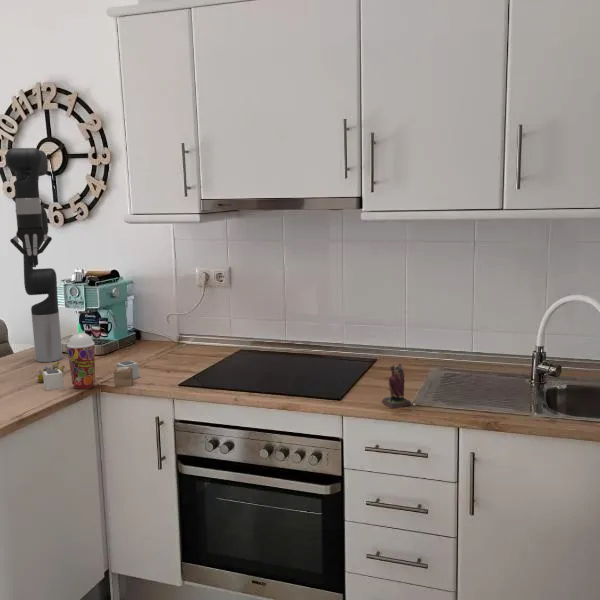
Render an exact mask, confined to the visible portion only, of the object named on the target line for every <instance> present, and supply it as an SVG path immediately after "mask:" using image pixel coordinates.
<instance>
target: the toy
mask: <svg viewBox="0 0 600 600" xmlns="http://www.w3.org/2000/svg"><path fill="white" fill-rule="evenodd" d="M60 364H61V362H60V361H57V363H54V364H51V365H49V367H48V366H44V367H42V368H41V369H39V371H38V373H40V374H39V375H37V381H36V382H39V383H40V384H41V383H42V382H44V381H43V372H44V371H49V370H56V369H59V370H60V371H61V372H62V373H63V371H64V369H65V367H66V366H65V364H63V365H62V366H61V367H59V365H60Z"/></svg>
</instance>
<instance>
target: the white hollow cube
mask: <svg viewBox="0 0 600 600" xmlns="http://www.w3.org/2000/svg"><path fill="white" fill-rule="evenodd" d="M55 369H56V370H55ZM55 369H54V370H49V371H44V372H43V381H42V382H43V387H44V389H45V390H46V392H47V391H53V390H59V389H60V390H61V389H64V376H63V375H64V374H63V371H62V372H61V371H60V370H59V369H57V368H55Z"/></svg>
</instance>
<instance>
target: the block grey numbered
mask: <svg viewBox="0 0 600 600" xmlns="http://www.w3.org/2000/svg"><path fill="white" fill-rule="evenodd" d="M115 365H116V366H115V367H116V368H119V367H132V370H133V380H135V379H139V378H140V377H139V363H138V362H135V361H133V360H126V361H121V362H117V363H116V364H115Z"/></svg>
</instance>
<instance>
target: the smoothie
mask: <svg viewBox="0 0 600 600" xmlns="http://www.w3.org/2000/svg"><path fill="white" fill-rule="evenodd" d="M77 327H78V332H76V333H75V334H73V335H72V336H71V337H70V338H69V340H68V342H67V344H66V349H67V356H68V362H69V368H70V369H69V370H70V376H71V382H72V385H74V388H76V389H80V390H82V389H90V388H92V387H93V386H94V384H95V383H96V363H95V361H96V358H95V356H96V355H95V354H96V353H95V350H96V349H95V341H94V339H93V338H92V337H91V336H90V334H88V333H85V332H82V328H81V324H80V323H78V325H77Z"/></svg>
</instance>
